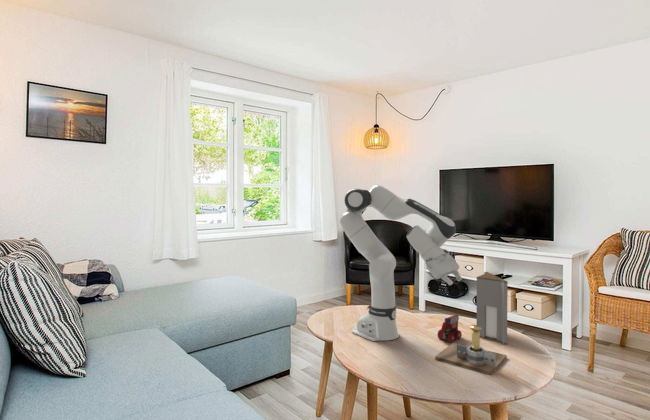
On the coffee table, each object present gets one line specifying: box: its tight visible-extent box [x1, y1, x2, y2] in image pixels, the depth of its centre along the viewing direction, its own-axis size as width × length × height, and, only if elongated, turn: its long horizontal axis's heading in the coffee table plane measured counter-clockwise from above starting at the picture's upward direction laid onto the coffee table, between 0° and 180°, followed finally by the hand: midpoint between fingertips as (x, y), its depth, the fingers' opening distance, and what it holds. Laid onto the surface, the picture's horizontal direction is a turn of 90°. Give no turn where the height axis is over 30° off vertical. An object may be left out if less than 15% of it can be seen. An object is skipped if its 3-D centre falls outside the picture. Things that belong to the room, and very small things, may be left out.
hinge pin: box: [469, 324, 481, 352], centre depth 153 cm, size 4×4×14 cm
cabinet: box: [476, 271, 509, 346], centre depth 183 cm, size 21×10×28 cm, turn 0°
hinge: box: [457, 345, 496, 367], centre depth 153 cm, size 15×6×5 cm, turn 50°
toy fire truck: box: [437, 314, 462, 343], centre depth 181 cm, size 7×12×10 cm, turn 128°
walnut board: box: [434, 342, 508, 376], centre depth 159 cm, size 22×19×1 cm
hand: (456, 282), depth 166 cm, fingers open, 8 cm apart
